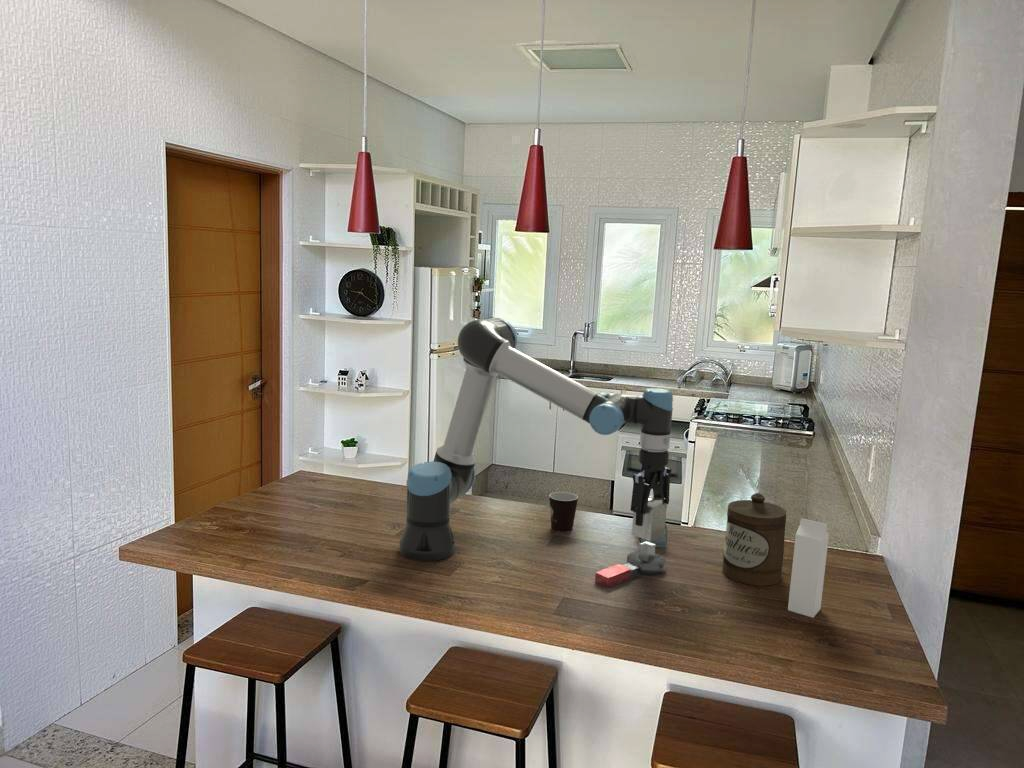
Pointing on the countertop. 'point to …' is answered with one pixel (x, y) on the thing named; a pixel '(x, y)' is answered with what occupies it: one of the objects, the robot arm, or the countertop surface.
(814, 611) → the milk
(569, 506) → the coffee mug
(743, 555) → the wooden container
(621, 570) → the ratchet
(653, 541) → the beverage carton
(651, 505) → the grey faceted jar
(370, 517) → the countertop surface
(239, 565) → the countertop surface
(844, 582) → the countertop surface
